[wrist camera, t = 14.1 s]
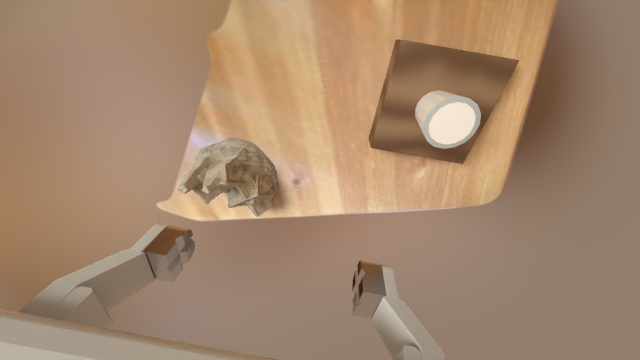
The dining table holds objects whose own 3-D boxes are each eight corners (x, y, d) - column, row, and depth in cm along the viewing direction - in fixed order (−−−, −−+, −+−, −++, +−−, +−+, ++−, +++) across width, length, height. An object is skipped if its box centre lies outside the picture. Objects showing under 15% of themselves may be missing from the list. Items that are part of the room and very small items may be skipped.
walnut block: (395, 39, 35) (402, 39, 31) (498, 57, 35) (519, 60, 31) (368, 137, 44) (370, 147, 40) (451, 151, 44) (462, 163, 39)
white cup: (467, 109, 35) (492, 124, 29) (427, 139, 38) (441, 158, 32) (442, 75, 33) (463, 83, 27) (401, 109, 36) (412, 124, 30)
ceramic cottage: (188, 146, 48) (138, 190, 35) (261, 130, 45) (235, 173, 33) (222, 202, 56) (192, 254, 44) (286, 192, 54) (272, 244, 41)
